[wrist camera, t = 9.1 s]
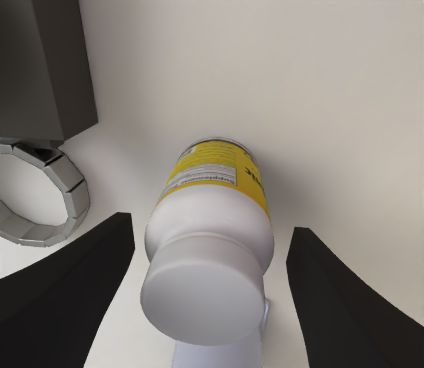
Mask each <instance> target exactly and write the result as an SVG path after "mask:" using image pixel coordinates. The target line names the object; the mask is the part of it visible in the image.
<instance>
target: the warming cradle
mask: <svg viewBox="0 0 424 368" xmlns="http://www.w3.org/2000/svg"><path fill="white" fill-rule="evenodd" d="M62 144H64V142H63V141H60V140H45V139H31V138H17V137H3V136H0V153H2V154H13V155H15V156H17V157H19V158H21V159H23V160H25V161H27V162H28V163H30V164H32V165H34V166H36V167H38V168H40V169H42V170H43V171H44V172H45V174H46V175H47V176H48V177H49V178H50V179H51V180H52V182H53V183H54V184H55V185H56V186H57V187H58V188H59V190H60V191H61V192H62V194H63V198H64V201H65V205H66V209H67V213H68V218H67V221H66V223H64V224H62V225H60V226H48V225H36V224H34V223H32V222H30V221H28V220H26V219H24V218H22V217H20V216H18V215H15V214H13V213H12V212H11V211H10V210H9V209H8V208H7V207H6V206H5V205H4V204H3V203H2V202H1V201H0V236H1V237H3V238H5V239H7V240H9V241H11V242H14V243H16V244H19V243H20V244H21V245H23V246H34V247H46V246H47V247H50V246H52V245H54V244H57V243H59V242H61V241H64V240H66V239H67V238H68V237H70V236H71V234H72V233H73V232H74V231H75V230H76V229H77V228H78V226H79V225H80V224H81V223H82V221H83V219H84V217H85V215H86V213H87V211H88V209H89V207H90V206H89V204H90V200H89V195H88V190H87V186H86V181H85V180H82V179H83V178H84V177H83V176H82V175H81V174H80V172H79V171H78V170H77V169H76V167H75V166H74V165H73V164H72V162H71V161H70V160H69V159H68V157H67V156H66V155H64V156H62V152H61V151H59V150H57V149H56V148H57V147H59V146H60V145H62ZM61 156H62V157H61Z"/></svg>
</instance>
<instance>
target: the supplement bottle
mask: <svg viewBox="0 0 424 368" xmlns="http://www.w3.org/2000/svg"><path fill="white" fill-rule="evenodd" d="M145 250H146V254H147V257H148V260H149V262H150V266H149V269H148V272H147V275H146V277H145V280H144V283H143V286H142V289H141V296H140V300H141V306H142V310H143V312H144V314H145V316H146V317H147V319H148V320H149V321H150V322H151V324H152V325H153V326H155V327H156V328H157V329H158V330H159V331H161V332H162V333H164V334H165V335H167V336H169V337H171V338H173V339H176V340H178V341H181V342H184V343H188V344H193V345H200V346H218V345H225V344H230V343H233V342H236V341H239V340H241V339H243V338H245V337H247V336H248V335H250V334H251V333H252V332H254V331H255V330H256V329H257V328H258V326H259V325H260V323H261V322H262V320H263V317H264V314H265V308H266V302H265V294H264V285H263V275H264V274H265V272H266V271H267V269H268V267H269V265H270V263H271V260H272V257H273V253H274V235H273V229H272V224H271V220H270V216H269V212H268V207H267V202H266V198H265V194H264V190H263V186H262V182H261V178H260V173H259V170H258V166H257V164H256V161H255V159H254V158H253V156H252V155H251V154H250V152H249V151H248V150H247V149H246V148H245V147H243V146H242V145H240V144H239V143H237V142H235V141H232V140H229V139H225V138H207V139H203V140H200V141H198V142H196V143H194V144H192V145H191V146H189V147H188V148H187V149H186V150H185V151H184V152H183V153H182V155H181V156H180V158H179V159H178V161H177V163H176V165H175V167H174V169H173V171H172V173H171V175H170V177H169V179H168V182H167V184H166V186H165V188H164V190H163V192H162V194H161V196H160V198H159V200H158V202H157V204H156V206H155V208H154V210H153V212H152V214H151V216H150V219H149V221H148V224H147V227H146V232H145Z"/></svg>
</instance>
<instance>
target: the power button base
mask: <svg viewBox="0 0 424 368" xmlns="http://www.w3.org/2000/svg"><path fill="white" fill-rule="evenodd" d="M97 123H98V120H97V114H96V108H95V102H94V96H93V90H92V84H91V78H90V71H89V65H88V59H87V53H86V47H85V41H84V35H83V29H82V23H81V17H80V11H79V5H78V0H0V136H3V137H17V138H31V139H45V140H60V141H66V140H67V139H69V138H71V137H73V136H75V135H77V134H79V133H80V132H82V131H84V130H86V129H88V128H90V127H91V126H93V125H95V124H97Z"/></svg>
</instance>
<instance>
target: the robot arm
mask: <svg viewBox="0 0 424 368" xmlns="http://www.w3.org/2000/svg"><path fill="white" fill-rule="evenodd" d="M134 251H135V242H134V234H133V226H132V218H131V213H122V212H117V213H115V214H114V215H112V216H110V217H109V218H107V219H106V220H104V221H103V222H102V223H100V224H99V225H97V226H96V227H94V228H93V229H91V230H90V231H88V232H87V233H85V234H84V235H82V236H81V237H79V238H77V239H76V240H74V241H72V242H71V243H69V244H68V245H66V246H64V247H63V248H61V249H59V250H58V251H56V252H54V253H52V254H51V255H49V256H47V257H45V258H43V259H41V260H40V261H38V262H36V263H34V264H32V265H30V266H28V267H26V268H24V269H22V270H19V271H17V272H15V273H13V274H10V275H8V276H6V277H4V278H1V279H0V368H83V367H84V364H85V361H86V359H87V356H88V353H89V351H90V348H91V346H92V343H93V341H94V338H95V336H96V333H97V331H98V328H99V326H100V324H101V322H102V319H103V317H104V315H105V313H106V311H107V309H108V307H109V305H110V304H111V302H112V300H113V298H114V296H115V294H116V292H117V290H118V288H119V286H120V284H121V282H122V280H123V278H124V276H125V274H126V272H127V270H128V268H129V265H130V262H131V260H132V257H133V254H134ZM286 266H287V274H288V281H289V286H290V290H291V293H292V297H293V301H294V304H295V308H296V312H297V315H298V319H299V323H300V326H301V330H302V333H303V337H304V341H305V346H306V350H307V356H308V362H309V367H310V368H424V327H423V326H422V325H420V324H419V323H418V322H416V321H415V320H413V319H412V318H410V317H409V316H407V315H406V314H405V313H403V312H402V311H400V310H399V309H398V308H396V307H395V306H394V305H392V304H391V303H390V302H388V301H387V300H386V299H385V298H383V297H382V296H381V295H379V294H378V293H377V292H376V291H374V290H373V289H372V288H371V287H370V286H368V285H367V284H366V283H365V282H364V281H363V280H361V279H360V278H359V277H358V276H357V275H356V274H355V273H354V272H352V271H351V270H350V269H349V268H348V267H347V266H346V265H345V264H344V263H343V262H342V261H341V260H340V259H339V258H338V257H337V256H336V255H335V254H334V253H333V252H332V251H331V250H330V249H329V248H328V247H327V246H326V245H325V244H324V243H323V242H322V241H321V240H320V239H319V238H318V237H317V236H316V235H315V234H314V233H313V231H312V230H310V229H309V228H303V227H294V231H293V235H292V240H291V244H290V248H289V252H288V256H287V260H286ZM265 302H266V308H265V314H264V317H263V320H262V322H261V323H260V325H259V326H258V328H257V329H256V330H255V331H254V332H252V333H251V334H250V335H248V336H247V337H245V338H243V339H241V340H239V341H236V342H233V343H230V344H225V345H218V346H200V345H193V344H188V343H184V342H181V341H178V340H176V346H175V351H174V356H173V361H172V366H171V368H263V362H262V351H261V340H262V336H263V332H264V327H265V323H266V319H267V314H268V310H269V301H268V300H266V299H265Z"/></svg>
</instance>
